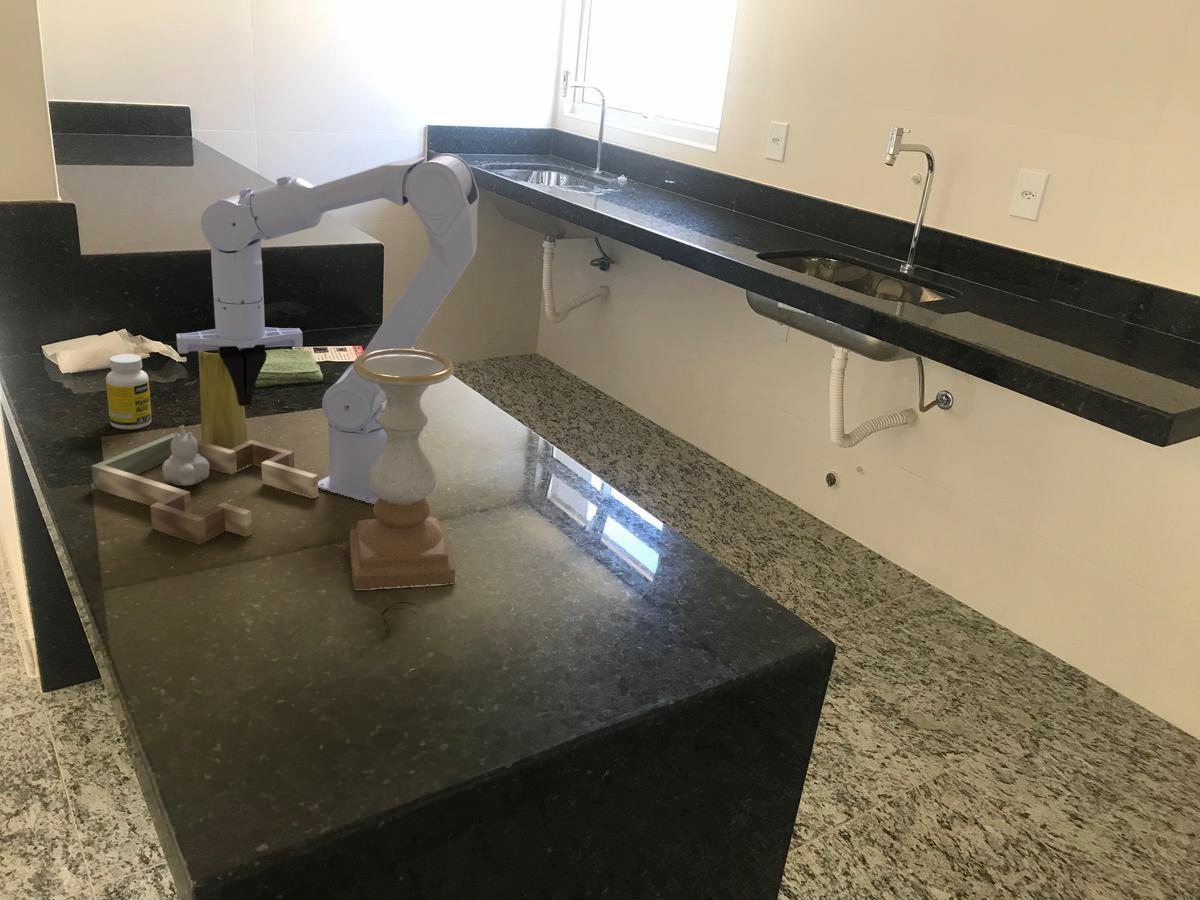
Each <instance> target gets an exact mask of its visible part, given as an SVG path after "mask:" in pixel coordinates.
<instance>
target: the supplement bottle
mask: <svg viewBox="0 0 1200 900" xmlns="http://www.w3.org/2000/svg"><path fill="white" fill-rule="evenodd" d="M142 360H143V359H142V357H141V356H140V355H137V354H132V353H122V354H116V355H113V356H111V357H110V358H109V364H110V370H111V371H110V372H108V373H107V375H106V377H105V383H106V384H105V385H106V386H105V387H106V397H107V405H108V416H109V423H110V425H111V426H112V427H113V428H116V429H119V430H137V429H142V428H145V427H148V426H149V425H150V424H151V423H152V420H153V419H152V408H151V407H152V406H151V393H150V381H149V380H150V379H149V376H148V374H147V372H145V370H142V368H143V361H142Z"/></svg>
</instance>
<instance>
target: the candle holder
mask: <svg viewBox="0 0 1200 900" xmlns="http://www.w3.org/2000/svg"><path fill="white" fill-rule="evenodd" d="M362 353H363V352H362ZM353 364H354V370H355V372H356V373H357V375H358V376H360V377H361V378H363V379H365V380H367V381H370V382H373V383H377V384H379V386H380V388H381V389H382V390H383V391H384V393H385V395H386V405H385V407H384V408H383V410H384V411H383V412H382V413H381V414H380V415H379V417H378V422H379V424H380V425H381V426H383V430H384V431H385V433H386V435H387V442H386V445H385V447H384V448H383V450H382V452H381V453H380V454H379V456H378V457H377V459H376V460H375V461H374V463H373V465H372V466H371V469H370V471H369V475H368V484H369V487H370V489H371V491H372V492H373V493H374V494H375V495H376V496H377V497H378V498H379V499H378V500H377V501H376V502H375V505H373V515H374V517H375V518H371V519H361V520H358V521H357V524H356V528H352V529H350V532H349V557H351V559H350V570H351V569H352V571H351V581H353V583H352V587H354V588H355V589H371V588H380V587H382V588H384V587H397V586H400V587H402V586H411V585H413V586H415V585H426V584H429V585H431V584H447V583H448V584H450V583H454V582H455V583H456V567H455V566H456V565H455V561H454V558H453V553H452V550H451V546H450V543H449V538H448V536H447V532H446V530H445V527H444V526H443V525H441V522H440V521H439V518H438V517H433V516H430V513H431V507H430V504H429V501H428V500H427V499H426V498H427V497H428V496H429V495H430V494H431V493H432V492H433V491H434V490H435V487H436V484H437V475H436V471H435V468H434V466H433V464H432V462H431V461H430V459H429V458H428V456H427V455H426V454H425V452H424V450H423V449H422V447H421V445H420V441H419V440H420V439H419V438H420V435H421V433H422V432H423V431H424V428H425V427H426V426H427V424H428V423H429V417H428V416H427V415H426V414H425V412H424V411H423V408H422V405H421V399H422V396H423V395H424V393H425V391H427V389H428V388H429V386H432V385H437V384H441V383H442V382H444V381H447V380H448V379H449V378H450V377H451V376H452V375H453V374H454V373H453V372H454V363H453V362H452V360H450V359H449V357H446V356H445V355H442V354H440V353H439V352H434V351H429V350H425V349H418V348H387V349H379V350H373V351H369V352H366V353H363V354H360V355H359V356H357V357H356V358H355V359H354V360H353ZM455 583H454V584H455ZM354 588H353V589H354Z"/></svg>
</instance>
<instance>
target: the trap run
mask: <svg viewBox="0 0 1200 900" xmlns="http://www.w3.org/2000/svg"><path fill="white" fill-rule="evenodd" d="M175 434H176V432H175V433H174V432H173V433H171V434H167V435H166V436H163V437H160V438H158V439H156V440H153V441H150V442H148V443H145V444H143V445H140V446H138V447H136V448H133V449H130V450H127V451H125V452H123V453H120V454H118V455H115V456H112V457H110V458H107V459H106V460H102V461H101V462H98V463H95V464H92V465H91V474H92V481H93V482H92V483H93V489H96V490H98V491H102V492H104V493H107V494H111V495H115V496H117V497H120V498H123V497H124V498H123V499H126V498H127V499H126V500H129V499H130V501H132V500H134V501H133V502H135V501H137V502H136V503H138V502H141V503H145V504H147V505H151V506H149V507H150V508H149V510H150V518H151V519H150V520H151V527H152V528H154V529H156V530H155V531H157V530H159V531H158V532H160V531H161V532H160V533H162V534H166V533H167V534H166V535H168V536H172V535H173V536H172V537H175V538H177V537H178V538H177V539H180V540H184V541H186V540H187V542H189V541H190V543H193V544H196V545H198V544H199V546H201V545H202V543H203V544H204V543H206V542H208V541H210V540H212V539H213V538H216V537H218V536H219V535H221V534H223V533H224V532H223V531H225V530H226V531H225V532H227V531H230V532H233V533H236V534H239V535H243V536H248V535H250V534H251V533H252V534H253V525H252V524H253V523H252V521H253V519H252V510H248V509H245V508H242V507H239V506H236V505H232V504H230V503H226V502H221V503H220V504H218V505H216V506H214V507H212V508H211V509H210V508H209V509H208V510H206V511H204V512H203V513H201V514H199V515H198V514H194V513H192V499H191V491H188V490H185V489H182V488H179V487H175V486H172V485H169V484H166V483H163V482H159V481H157V480H153V479H150V478H146V477H144V476H140V475H139V474H141V473H143V471H144V472H145V470H146V471H148V470H150V469H152V467H153V468H155V467H157V466H159V464H160V465H161V463H162V464H163V463H164V462H165V461H166V460H167V459H169V457H170V456H171V455H173V454H172V452H171V441H172V440H173V438H174V436H175ZM196 441H197V446H198V451H197V453H199V454H200V456H202V457H204V458H206V459H207V461H208V462H209V469H210V468H214V469H217V470H220V471H223V472H222V473H224V472H227V473H231V474H232V473H234V472H235V471H238V470H239V469H242V468H243V467H246V466H247V465H250V464H257V465H260V466H261V467H260V468H261V482H263V483H267V484H270V485H273V486H276V487H279V488H284V489H287V490H289V491H293V492H297V493H300V494H304V495H308V496H311V497H314V496H315V495H317V494H318V495H319V489H318V482H319V475H318V474H316V473H312V472H308V471H305V470H301V469H298V468H295V458H294V457H295V456H294V455H295V453H294V451H291V450H288V449H284V448H281V447H278V446H274V445H271V444H267V443H263V442H260V441H257V440H254V439H250V440H248V442H245V443H243V444H241V445H239V446H236V447H234V448H232V449H226V448H223V447H219V446H216V445H212V444H209V443H206V442H202V440H198V439H196ZM156 465H157V466H156ZM154 466H155V467H154ZM149 468H150V469H149ZM147 469H148V470H147ZM214 469H213V470H214ZM217 470H216V471H217ZM220 471H219V472H220ZM140 472H141V473H140ZM138 473H139V474H138ZM227 473H226V474H227ZM136 474H137V475H136ZM234 474H235V473H234ZM232 475H233V474H232ZM141 503H140V504H141ZM147 505H146V506H147ZM191 513H192V514H191ZM152 528H151V529H152ZM154 529H153V530H154ZM222 532H223V533H222ZM230 532H229V533H230ZM220 533H221V534H220ZM233 533H232V534H233ZM236 534H235V535H236ZM239 535H238V536H239ZM215 536H216V537H215ZM250 536H251V535H250ZM248 537H249V536H248Z"/></svg>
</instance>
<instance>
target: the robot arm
mask: <svg viewBox="0 0 1200 900" xmlns="http://www.w3.org/2000/svg"><path fill="white" fill-rule="evenodd" d="M426 159H427V156H422V157H414V158H407V159H402V160H395V161H391V162H387V163H383V164H380V165H377V166H375V167H370V168H368V169H365V170H362V171H359V172H355V173H352V174H349V175H346V176H342V177H340V178H336V179H334V180H330V181H326V182H324V183H321V184H317V185H315V184H313V183H311V182H309V181H307V180H306V179H304V178H301V177H297V178H293V179H292V176H291V175H285V176H282V177H278V178H277V179H276V180H275V181H276V183H277V184H274V185H269V186H266V187H263V188H260V189H255V190H252V189H251V188H250V187H248V188H244V189H241V190H239V194H238V195H232V196H229V197H227V198H225V199H219V200H217V201H215V202H213V203H212V204H211V205H209V206H208V207H207V208H205V210H204V211H203V213H202V215H201V218H200V228H201V232H202V234H203V236H204V239H206V241H207V242H208V243H209V244H210V256H211V260H210V262H211V277H212V293H213V308H214V309H213V310H214V324H215V325H214V326H215V328H213V329H207V330H201V331H195V332H194V331H192V332H186V333H185V332H184V333H176V334H175V335H176V347H177V352H178V354H189V352H198V351H206V350H218V352H219V355H220V357H221V359H222V360H223V362H224V364H225V366H226V367H227V369H228V371H229V374H230V376H231V379H232V381H233V384H234V387H235V391H236V395H237V401H238V403H239V405H240V406H245V407H246V406H252V400H253V396H254V389H255V387H256V386H255V383H256V380H257V377H258V375H259V373H260V371H261V369H262V367H263V365H264V363H265V361H266V357H267V353H266V351H267V350H266V348H275V347H277V348H278V347H281V348H282V347H293V348H303V347H304V346H303V343H304V342H303V337H304V336H303V331H302V330H301V329H300V328H299V327H298V328H297V327H295V328H292V327H291V328H290V327H289V328H284V327H283V328H282V327H281V328H279V327H268V326H267V327H265V326H266V325H265V323H266V322H265V301H264V300H265V298H264V276H263V273H264V272H263V259H262V242H261V241H262V240H264V241H268V240H272V239H276V238H279V237H283V236H286V235H287V236H288V235H290V234H294V233H298V232H300V231H304V230H308V229H312V228H316V227H318V226H319V223H320V221H321V218H322V217H323V215H324V213H326V212H330V211H335V210H339V209H343V208H347V207H351V206H355V205H358V204H359V205H360V204H363V203H366V202H371V201H375V200H379V199H385V200H388V201H389V202H391V203H394V204H395V205H398V206H400V207H404V206H405V205H407V204H408V203H409V205H410V207H411V208H412V211H414V212H415V214H416V216H417V217H418V218H419V220H420V222H421V223H422V224H423V226H424V229H425V231H426V234H427V238H428V241H429V244H430V247H431V248H430V251H429V253H428V254H427V255H426V257H425V258H424V260H423V262H422V263H421V264H420V266H419V268H418V269H417V271H416V272H415V274H414V275H413V276H412V278H411V280H410V281H409V283H408V284H407V285H406V287H405V288H404V290H403V291H402V293H401V295H400V297H398V300H397V301H396V302H395V304H394V305H393V307H391V308H392V309H391V310H390V311H389V313H388V314H387V316H386V317H385V319H384V321H383V322H382V323H381V324H380V326H379V328H378V329H377V331H376V333H375V334H374V335H373V337H372V339H371V340H370V342H369V343H368V345H367V346H366V347H365V349H364V350H363V352H362V354H363V353H366V352H369V351H373V350H379V349H387V348H411V349H413V347H414V344H416V342H417V341H418V339H419V338H420V336H421V334H422V333H423V332H424V330H425V329H426V327H427V326H428V324H429V323H430V321H431V320H432V318H433V317H434V316H435V314H436V312H438V310H439V308H440V307H441V305H442V304H443V303H444V300H445V299H446V298H447V297H448V295H449V293H450V292H451V291H452V289H453V288H454V286H455V285H456V283H457V282H458V280H459V278H461V275H462V274H463V273H464V272H465V270H466V269H467V268H468V265H470V263H471V261H472V260H473V258H474V257H475V255H476V252H477V249H478V206H479V199H480V191H479V188H478V185H477V182H476V179H475V177H474V174H473V171H472V168H471V167H470V165H469V164H468V163H467V162H466V161H465V159H463V158H461V157H460V156H458V155H456V154H453V153H449V152H448V153H440V154H436V155H434V156H433V157H430V159H429V160H428V161H425V160H426ZM239 349H240V350H239ZM265 350H266V351H265ZM385 401H387V399H386V395H385V393H384V391H383V390H382V389H381V388H380V386H379V384H377V383H373V382H370V381H367V380H365V379H363V378H361V377H360V376H358V375H357V373H356V372H355V370H354V363H352V364H350V365H349V366H348V367H347V368H346V369H345V371H344V372H343V374H342V375H341V376H340V378H338V380H337V381H335V383H334V384H333V385H331V386H330V387H329V388H327V389H326V391H325V392H324V394H323V397H322V403H321V406H322V411H323V414H324V416H325V418H326V419H327V423H328V427H327V428H328V475H327V477H324V478H323V479H321V480H318V487H319V488H322V489H325V490H328V491H331V492H330V493H332V492H334V493H333V494H335V493H339V494H341V495H340V496H342V495H344V496H343V497H345V496H347V497H346V498H349V497H352V498H354V499H353V500H356V499H357V500H356V501H359V500H361V501H360V502H362V501H365V502H364V503H366V502H367V503H366V504H369V503H371V504H370V505H373V504H375V502H376V501H377V500H378V499H379V498H378V497H377V496H376V495H375V494H374V493H373V492H372V491H371V489H370V487H369V484H368V475H369V471H370V469H371V466H372V465H373V463H374V461H375V460H376V459H377V457H378V456H379V454H380V453H381V452H382V450H383V448H384V447H385V445H386V442H387V435H386V433H385V431H384V430H383V426H381V425H380V424H379V422H378V417H379V415H380V414H381V413H382V412H383V411H384V408H383V403H384V402H385ZM322 489H321V490H322ZM325 490H324V491H325ZM328 491H327V492H328ZM339 494H338V495H339ZM352 498H351V499H352Z"/></svg>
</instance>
